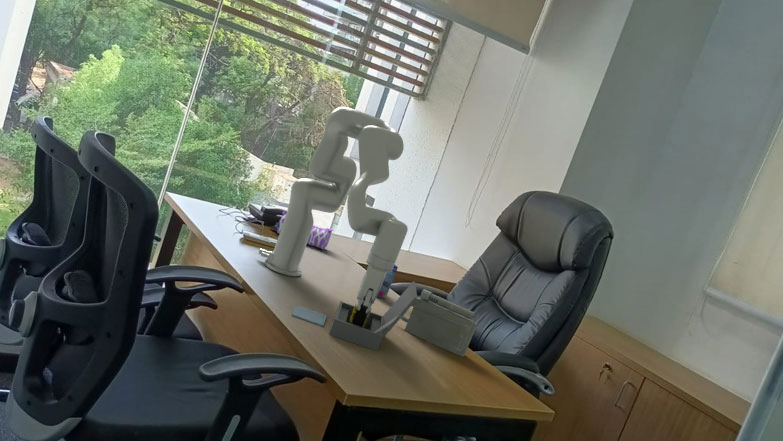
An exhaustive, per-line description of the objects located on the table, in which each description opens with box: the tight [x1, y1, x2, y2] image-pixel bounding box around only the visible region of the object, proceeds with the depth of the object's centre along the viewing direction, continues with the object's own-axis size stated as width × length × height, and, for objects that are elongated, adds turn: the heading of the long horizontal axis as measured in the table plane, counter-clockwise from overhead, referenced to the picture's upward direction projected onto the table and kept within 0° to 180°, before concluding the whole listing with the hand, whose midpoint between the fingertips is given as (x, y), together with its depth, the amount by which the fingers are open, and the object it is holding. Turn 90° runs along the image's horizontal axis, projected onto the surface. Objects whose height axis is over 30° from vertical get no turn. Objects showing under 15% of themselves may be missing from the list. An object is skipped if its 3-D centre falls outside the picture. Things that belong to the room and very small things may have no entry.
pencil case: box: [274, 211, 334, 251], centre depth 270 cm, size 22×9×9 cm, turn 85°
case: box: [329, 281, 418, 352], centre depth 186 cm, size 19×18×17 cm
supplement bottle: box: [348, 298, 373, 329], centre depth 187 cm, size 5×5×8 cm
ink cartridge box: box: [376, 263, 398, 300], centre depth 235 cm, size 10×6×14 cm, turn 26°
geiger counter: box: [401, 288, 478, 358], centre depth 204 cm, size 14×6×25 cm
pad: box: [291, 304, 327, 327], centre depth 187 cm, size 9×9×1 cm
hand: (358, 320), depth 187 cm, fingers closed on supplement bottle, 4 cm apart
